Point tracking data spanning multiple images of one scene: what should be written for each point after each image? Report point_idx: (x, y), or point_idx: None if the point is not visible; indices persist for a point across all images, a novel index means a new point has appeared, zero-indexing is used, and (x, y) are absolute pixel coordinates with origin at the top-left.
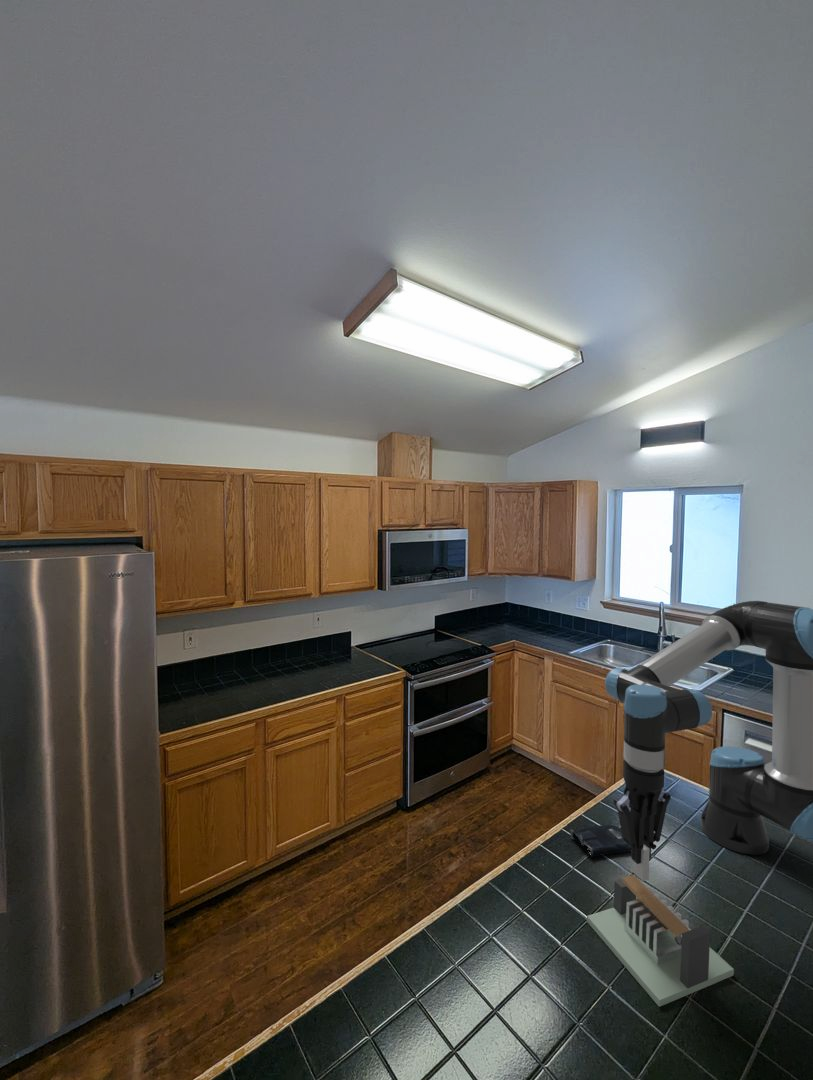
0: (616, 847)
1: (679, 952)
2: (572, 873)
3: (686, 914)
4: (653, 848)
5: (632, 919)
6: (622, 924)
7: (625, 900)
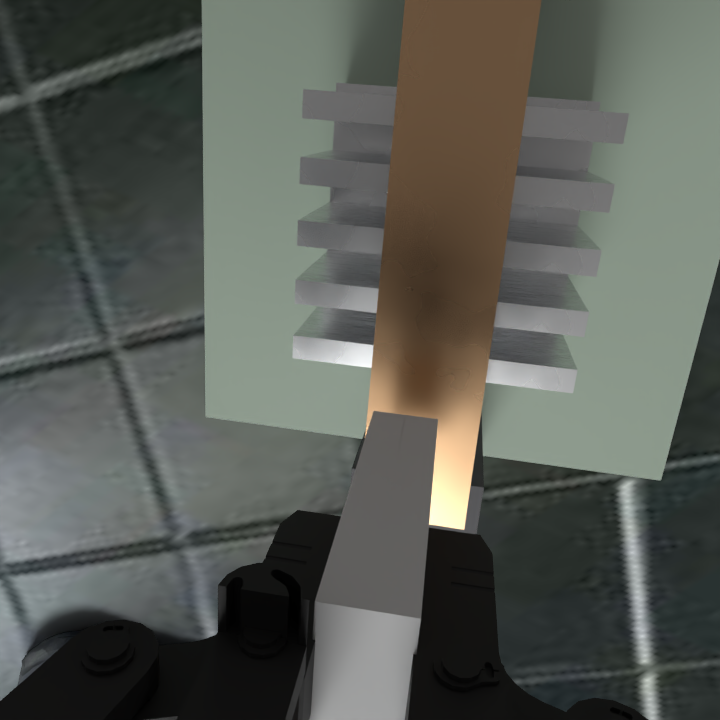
0: None
1: None
2: None
3: (126, 278)
4: (276, 577)
5: (531, 331)
6: None
7: None
